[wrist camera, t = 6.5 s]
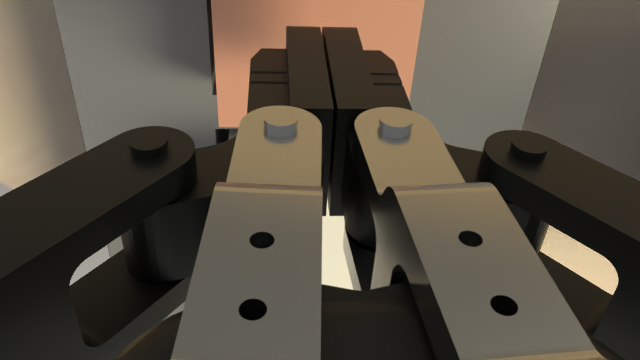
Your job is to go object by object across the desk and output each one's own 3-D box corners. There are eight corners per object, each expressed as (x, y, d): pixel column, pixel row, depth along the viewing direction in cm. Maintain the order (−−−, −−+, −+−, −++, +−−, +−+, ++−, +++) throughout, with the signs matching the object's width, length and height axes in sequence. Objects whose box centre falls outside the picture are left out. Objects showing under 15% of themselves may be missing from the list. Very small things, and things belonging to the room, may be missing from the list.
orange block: (407, -100, 16) (434, -64, 13) (385, 71, 19) (405, 129, 16) (218, -107, 16) (206, -72, 13) (227, 68, 19) (218, 127, 16)
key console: (544, -170, 18) (603, -150, 15) (429, 318, 31) (447, 386, 28) (63, -193, 17) (12, -176, 14) (155, 322, 30) (140, 393, 27)
